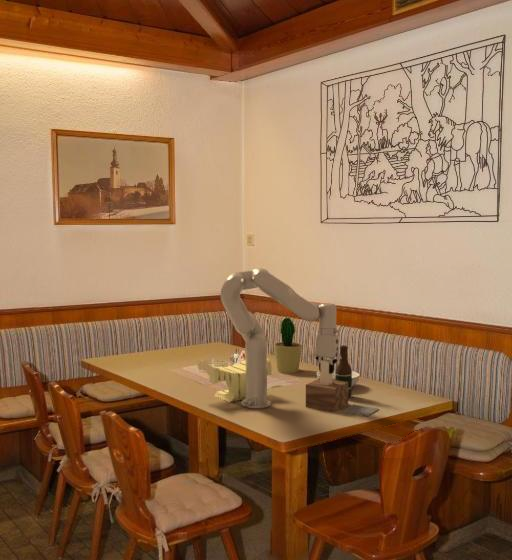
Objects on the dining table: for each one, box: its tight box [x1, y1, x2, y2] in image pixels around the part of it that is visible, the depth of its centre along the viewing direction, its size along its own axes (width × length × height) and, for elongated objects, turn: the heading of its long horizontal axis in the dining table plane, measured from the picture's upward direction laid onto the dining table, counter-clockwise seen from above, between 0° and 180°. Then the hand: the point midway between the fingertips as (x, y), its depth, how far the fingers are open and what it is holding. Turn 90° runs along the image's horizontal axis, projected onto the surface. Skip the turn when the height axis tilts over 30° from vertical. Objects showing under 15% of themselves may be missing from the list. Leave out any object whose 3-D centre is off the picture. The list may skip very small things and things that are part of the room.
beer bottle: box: [335, 344, 353, 399], centre depth 305 cm, size 8×8×24 cm
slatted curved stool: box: [197, 357, 272, 403], centre depth 304 cm, size 30×16×18 cm, turn 122°
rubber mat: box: [341, 404, 380, 417], centre depth 283 cm, size 12×12×1 cm
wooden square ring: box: [305, 378, 349, 412], centre depth 291 cm, size 14×14×10 cm
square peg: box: [319, 358, 333, 385], centre depth 291 cm, size 4×4×12 cm
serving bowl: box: [316, 368, 360, 387], centre depth 324 cm, size 21×21×7 cm
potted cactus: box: [273, 317, 303, 374], centre depth 357 cm, size 15×15×30 cm
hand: (326, 372), depth 290 cm, fingers closed on square peg, 4 cm apart
